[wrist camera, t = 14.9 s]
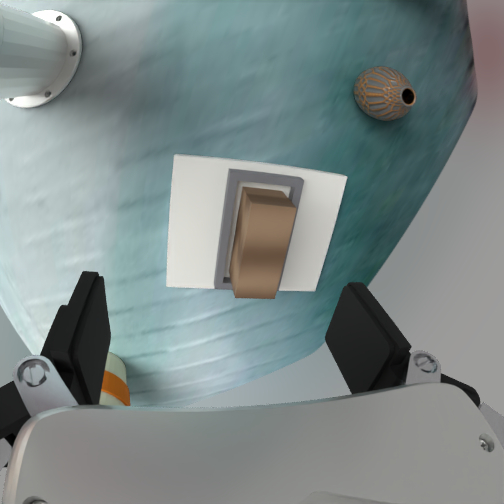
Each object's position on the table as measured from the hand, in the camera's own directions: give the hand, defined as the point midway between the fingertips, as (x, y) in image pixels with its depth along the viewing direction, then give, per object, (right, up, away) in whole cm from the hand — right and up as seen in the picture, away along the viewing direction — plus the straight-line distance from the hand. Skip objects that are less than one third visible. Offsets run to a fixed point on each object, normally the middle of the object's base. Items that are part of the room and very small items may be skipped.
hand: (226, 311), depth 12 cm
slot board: (+1, +5, +30) cm, 31 cm away
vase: (+16, +23, +24) cm, 37 cm away
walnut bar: (+1, +5, +29) cm, 30 cm away
